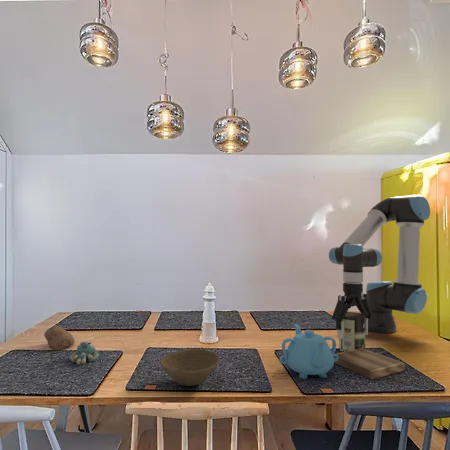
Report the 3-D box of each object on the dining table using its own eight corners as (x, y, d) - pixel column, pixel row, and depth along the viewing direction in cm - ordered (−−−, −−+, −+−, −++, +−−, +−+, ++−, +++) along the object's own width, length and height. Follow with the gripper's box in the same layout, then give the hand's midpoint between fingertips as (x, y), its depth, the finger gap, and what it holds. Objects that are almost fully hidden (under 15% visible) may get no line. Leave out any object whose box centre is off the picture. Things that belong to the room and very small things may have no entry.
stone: (47, 349, 152) (37, 332, 147) (66, 333, 158) (57, 317, 153) (63, 359, 144) (52, 342, 140) (82, 343, 150) (72, 325, 146)
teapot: (323, 388, 109) (323, 341, 109) (270, 371, 122) (270, 329, 122) (346, 373, 121) (346, 331, 121) (295, 359, 134) (295, 321, 134)
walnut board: (361, 354, 139) (361, 347, 139) (404, 370, 123) (404, 362, 123) (330, 361, 132) (330, 354, 132) (372, 379, 116) (372, 371, 116)
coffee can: (363, 346, 149) (363, 312, 149) (367, 354, 139) (367, 318, 139) (337, 345, 151) (337, 311, 151) (339, 353, 141) (339, 316, 141)
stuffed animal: (64, 352, 125) (72, 336, 137) (64, 371, 126) (72, 353, 138) (96, 350, 127) (101, 334, 139) (96, 369, 128) (102, 352, 140)
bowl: (147, 391, 106) (148, 364, 107) (177, 369, 124) (177, 346, 124) (205, 402, 100) (205, 373, 100) (228, 377, 117) (228, 352, 117)
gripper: (366, 280, 154) (366, 330, 153) (322, 282, 142) (322, 337, 141) (381, 282, 147) (381, 334, 147) (337, 285, 135) (336, 342, 135)
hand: (352, 336), depth 144 cm, fingers open, 13 cm apart
